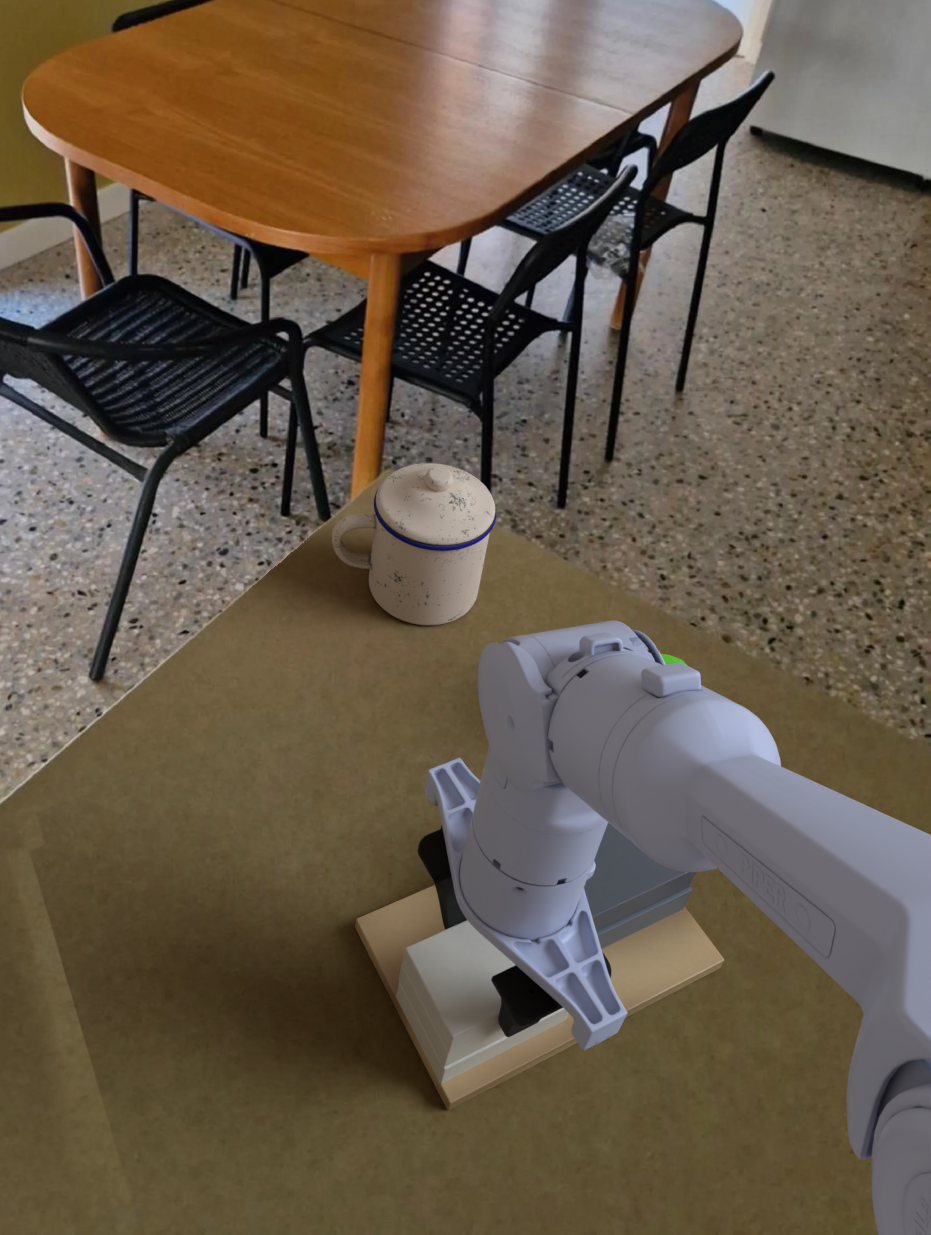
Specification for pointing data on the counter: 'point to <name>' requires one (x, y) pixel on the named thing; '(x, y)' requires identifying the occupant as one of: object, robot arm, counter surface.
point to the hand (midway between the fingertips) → (490, 973)
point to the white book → (457, 982)
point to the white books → (470, 1053)
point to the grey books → (631, 889)
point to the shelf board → (639, 980)
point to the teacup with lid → (424, 542)
